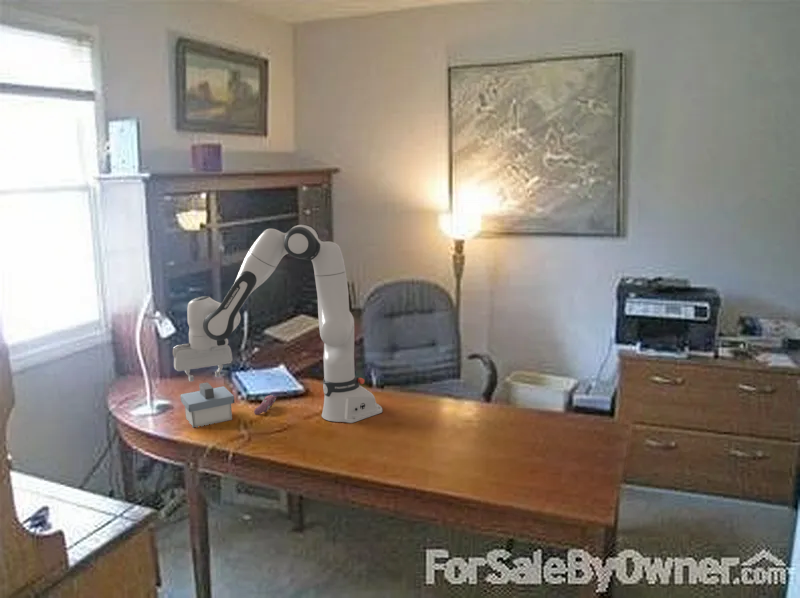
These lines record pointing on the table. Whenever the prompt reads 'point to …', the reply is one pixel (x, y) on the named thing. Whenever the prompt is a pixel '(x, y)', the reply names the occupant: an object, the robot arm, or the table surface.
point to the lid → (206, 398)
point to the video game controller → (265, 404)
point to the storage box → (209, 415)
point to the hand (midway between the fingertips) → (204, 378)
